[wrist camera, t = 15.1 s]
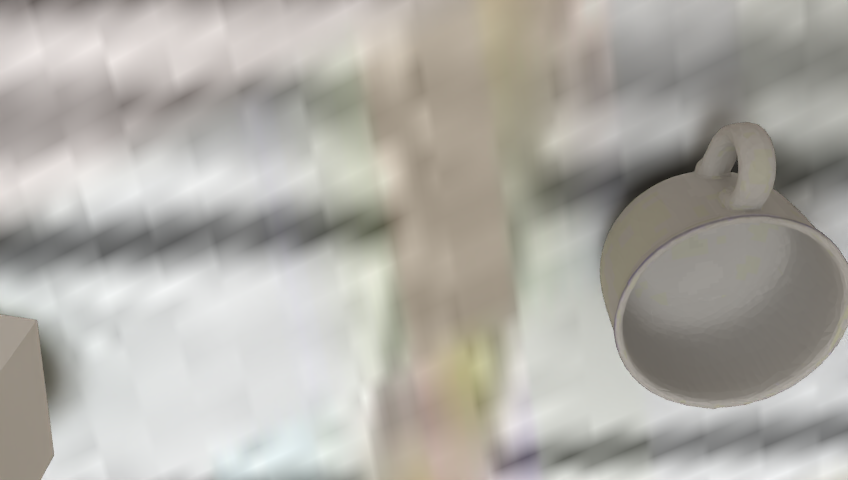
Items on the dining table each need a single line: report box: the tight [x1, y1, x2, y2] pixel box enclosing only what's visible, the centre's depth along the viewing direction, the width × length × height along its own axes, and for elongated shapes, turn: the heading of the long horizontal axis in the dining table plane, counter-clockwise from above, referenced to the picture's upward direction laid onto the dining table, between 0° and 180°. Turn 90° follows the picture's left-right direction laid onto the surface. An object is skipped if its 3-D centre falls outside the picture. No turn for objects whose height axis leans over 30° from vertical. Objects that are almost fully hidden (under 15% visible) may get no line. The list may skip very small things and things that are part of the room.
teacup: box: [600, 122, 848, 409], centre depth 39 cm, size 14×11×8 cm
